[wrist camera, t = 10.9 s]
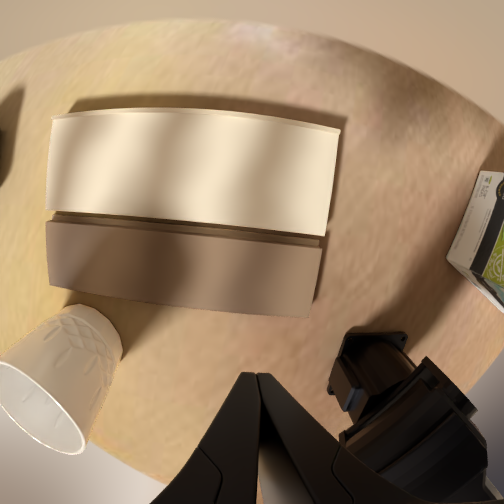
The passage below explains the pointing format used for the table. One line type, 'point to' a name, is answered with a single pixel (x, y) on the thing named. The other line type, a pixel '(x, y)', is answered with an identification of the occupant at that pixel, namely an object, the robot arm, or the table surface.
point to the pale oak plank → (193, 167)
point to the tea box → (483, 238)
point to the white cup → (61, 377)
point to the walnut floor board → (184, 265)
